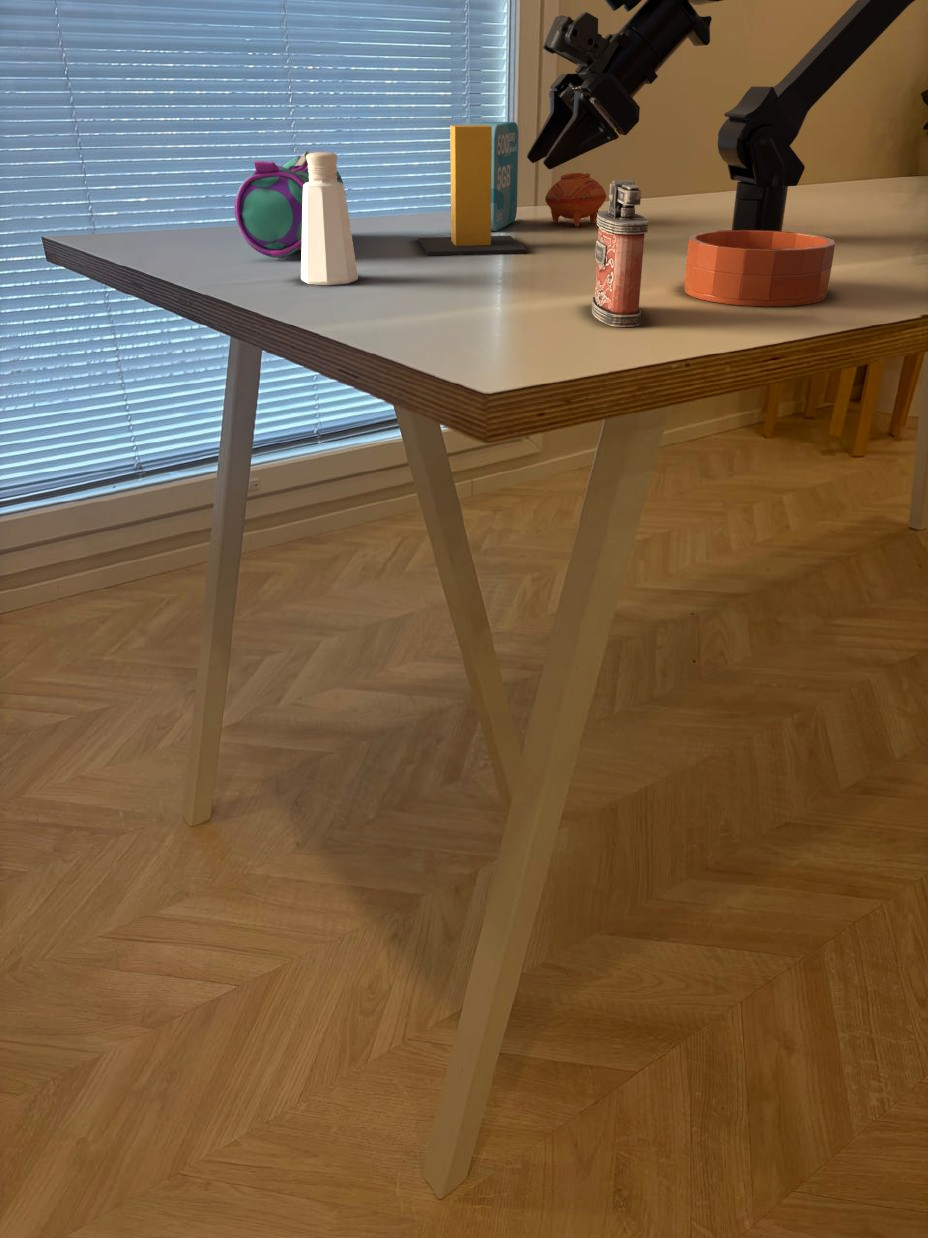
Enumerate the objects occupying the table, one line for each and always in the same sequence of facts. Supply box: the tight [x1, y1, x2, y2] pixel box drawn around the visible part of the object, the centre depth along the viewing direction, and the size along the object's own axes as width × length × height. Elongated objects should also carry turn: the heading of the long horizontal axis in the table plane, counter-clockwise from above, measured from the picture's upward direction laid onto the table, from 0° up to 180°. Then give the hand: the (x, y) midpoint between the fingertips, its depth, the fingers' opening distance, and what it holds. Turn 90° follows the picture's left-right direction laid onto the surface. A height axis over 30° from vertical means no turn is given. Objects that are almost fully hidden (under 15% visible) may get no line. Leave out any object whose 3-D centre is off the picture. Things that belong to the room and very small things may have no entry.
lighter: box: [591, 179, 649, 328], centre depth 78 cm, size 8×3×10 cm, turn 5°
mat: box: [417, 235, 528, 256], centre depth 113 cm, size 11×11×1 cm
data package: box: [464, 121, 519, 232], centre depth 126 cm, size 12×4×12 cm, turn 164°
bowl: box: [683, 229, 836, 307], centre depth 87 cm, size 12×12×4 cm
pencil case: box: [234, 149, 344, 259], centre depth 111 cm, size 21×9×10 cm, turn 178°
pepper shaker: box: [300, 151, 359, 286], centre depth 92 cm, size 5×5×11 cm
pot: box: [544, 172, 608, 228], centre depth 129 cm, size 8×8×7 cm
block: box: [449, 124, 492, 246], centre depth 110 cm, size 4×4×12 cm
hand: (537, 162), depth 110 cm, fingers open, 9 cm apart
